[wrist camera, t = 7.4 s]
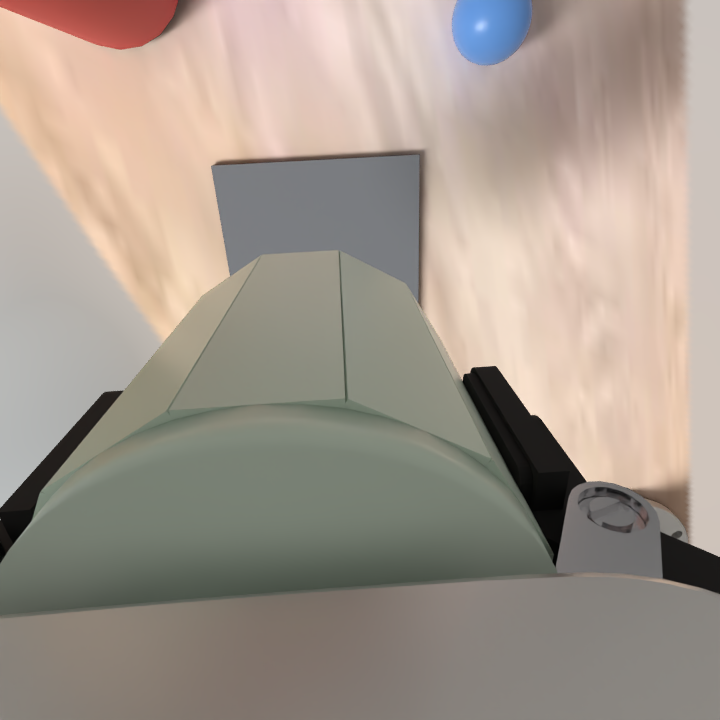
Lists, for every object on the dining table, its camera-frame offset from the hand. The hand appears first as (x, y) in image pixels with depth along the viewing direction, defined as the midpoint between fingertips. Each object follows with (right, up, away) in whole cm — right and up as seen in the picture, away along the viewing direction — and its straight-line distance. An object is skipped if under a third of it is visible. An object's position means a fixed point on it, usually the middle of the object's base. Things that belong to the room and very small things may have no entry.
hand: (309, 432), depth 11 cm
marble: (+7, +17, +10) cm, 21 cm away
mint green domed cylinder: (0, +1, +3) cm, 3 cm away
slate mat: (-1, +8, +16) cm, 17 cm away
